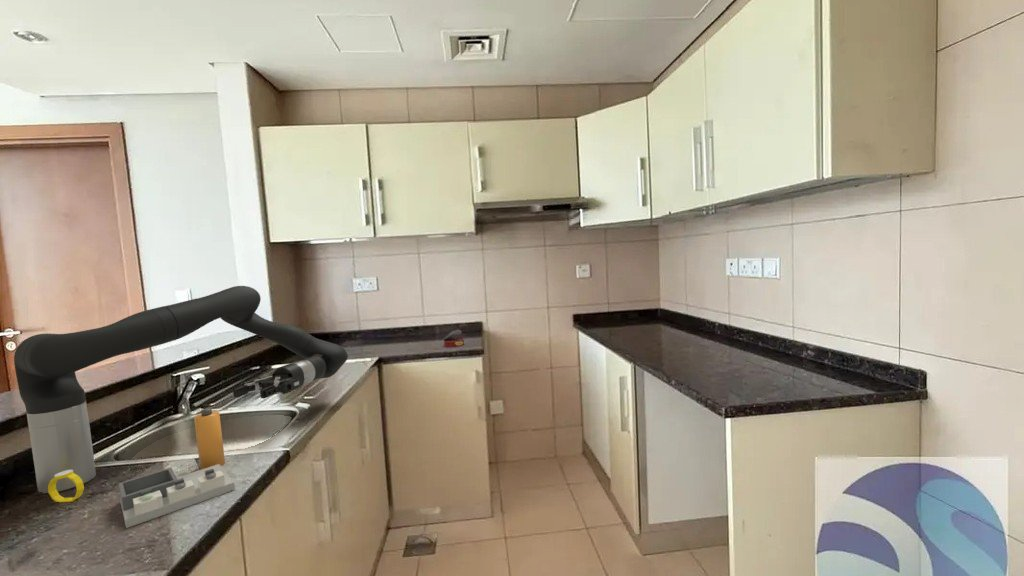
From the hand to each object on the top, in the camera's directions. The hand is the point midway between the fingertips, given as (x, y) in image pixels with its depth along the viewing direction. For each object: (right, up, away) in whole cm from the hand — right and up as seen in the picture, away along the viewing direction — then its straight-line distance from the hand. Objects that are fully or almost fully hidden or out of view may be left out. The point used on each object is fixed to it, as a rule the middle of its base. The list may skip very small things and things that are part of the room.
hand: (247, 394), depth 115 cm
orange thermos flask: (-2, -14, -10) cm, 17 cm away
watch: (-24, -17, -22) cm, 36 cm away
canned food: (+37, -2, +115) cm, 121 cm away
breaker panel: (0, -15, -23) cm, 28 cm away
